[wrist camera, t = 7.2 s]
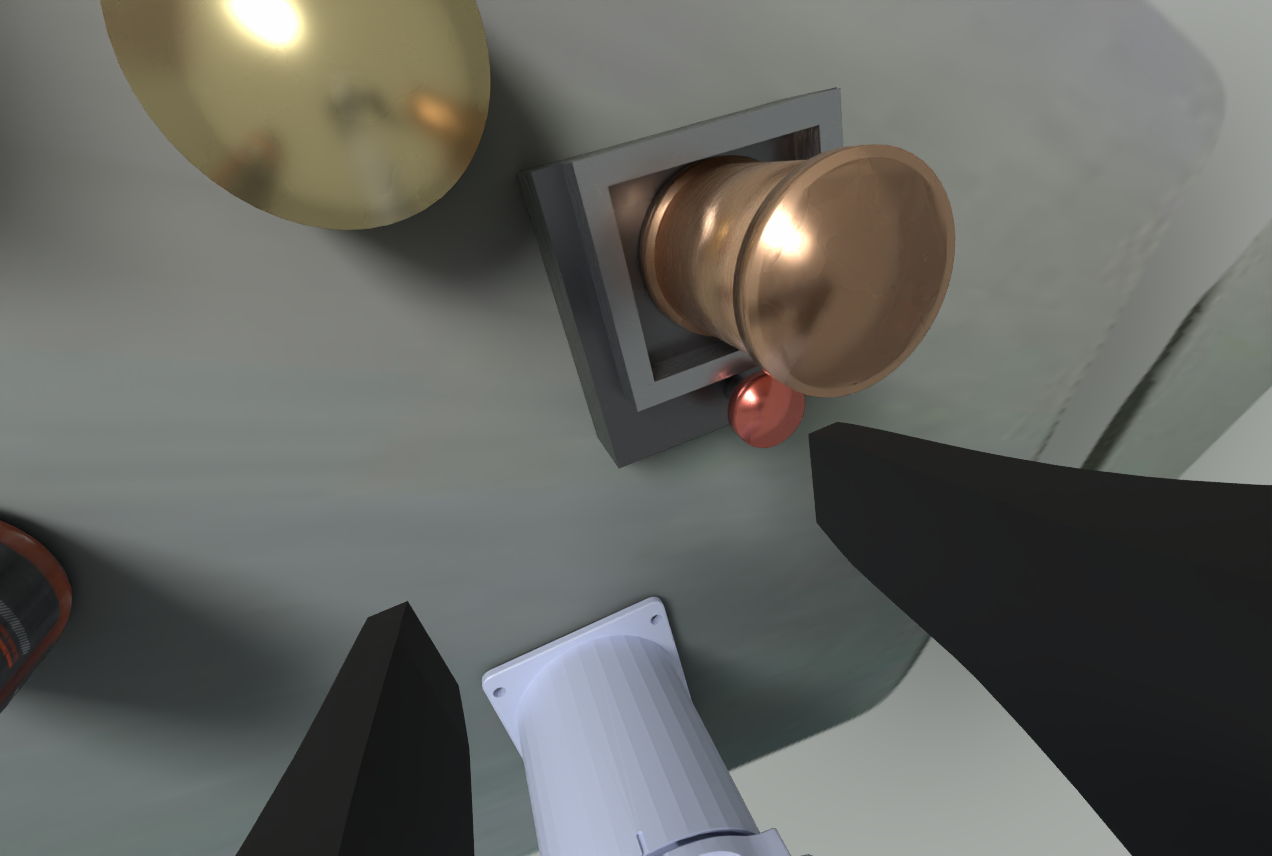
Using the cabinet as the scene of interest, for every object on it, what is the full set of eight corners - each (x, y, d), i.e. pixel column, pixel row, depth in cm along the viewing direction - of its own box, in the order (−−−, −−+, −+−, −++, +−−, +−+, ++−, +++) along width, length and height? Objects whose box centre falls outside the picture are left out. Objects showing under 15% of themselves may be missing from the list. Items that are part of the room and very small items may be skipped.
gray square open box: (809, 356, 22) (896, 396, 18) (597, 437, 20) (642, 502, 16) (785, 98, 18) (893, 74, 14) (515, 172, 16) (548, 170, 12)
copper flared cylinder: (802, 296, 18) (956, 343, 13) (666, 356, 17) (773, 433, 12) (775, 130, 15) (952, 107, 10) (616, 192, 15) (722, 199, 10)
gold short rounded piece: (507, 183, 16) (531, 185, 13) (277, 246, 15) (233, 267, 11) (416, -105, 13) (415, -205, 10) (117, -56, 12) (-6, -152, 8)
